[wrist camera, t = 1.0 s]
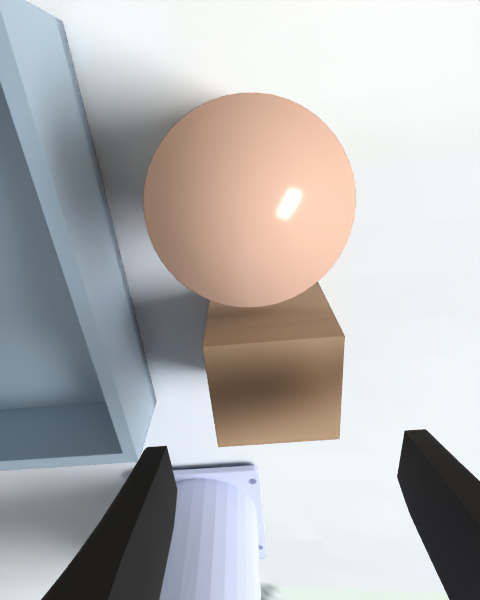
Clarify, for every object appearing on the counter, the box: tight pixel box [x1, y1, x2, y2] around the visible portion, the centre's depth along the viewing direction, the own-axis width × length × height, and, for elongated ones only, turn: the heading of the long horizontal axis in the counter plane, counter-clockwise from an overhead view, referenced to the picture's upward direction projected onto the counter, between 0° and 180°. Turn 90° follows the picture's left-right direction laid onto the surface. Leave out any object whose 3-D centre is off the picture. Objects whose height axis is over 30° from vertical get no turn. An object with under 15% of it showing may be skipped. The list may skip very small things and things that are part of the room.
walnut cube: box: [202, 281, 345, 447], centre depth 16 cm, size 5×5×5 cm
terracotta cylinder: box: [143, 93, 356, 307], centre depth 12 cm, size 5×5×7 cm
